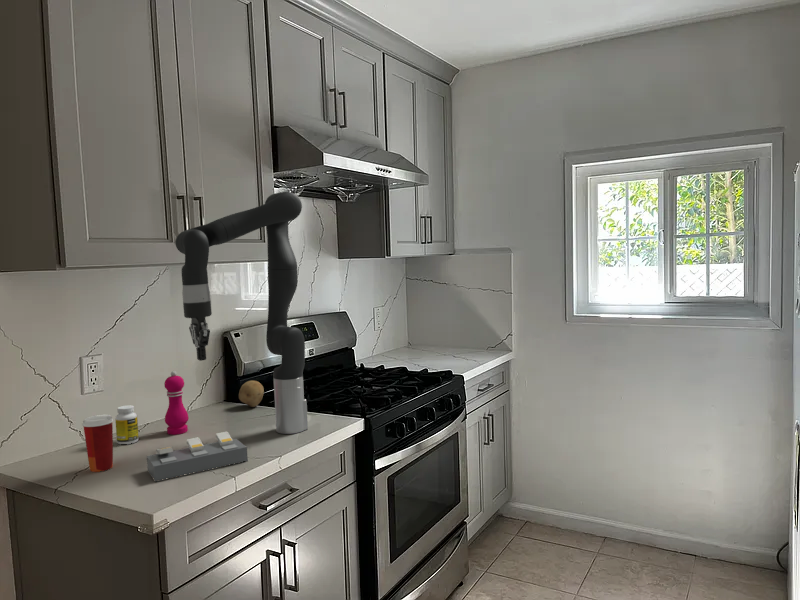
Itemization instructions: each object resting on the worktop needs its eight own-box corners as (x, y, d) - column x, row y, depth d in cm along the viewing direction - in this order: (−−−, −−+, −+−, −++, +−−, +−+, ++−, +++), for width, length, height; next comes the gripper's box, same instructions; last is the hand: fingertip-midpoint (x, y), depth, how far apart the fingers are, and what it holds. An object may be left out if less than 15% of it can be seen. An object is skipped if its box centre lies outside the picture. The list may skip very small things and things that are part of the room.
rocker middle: (198, 440, 169) (198, 436, 169) (203, 449, 165) (203, 445, 165) (186, 443, 167) (186, 439, 167) (191, 452, 163) (191, 447, 163)
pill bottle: (130, 445, 185) (128, 409, 184) (112, 444, 186) (109, 409, 185) (143, 439, 191) (140, 404, 190) (125, 438, 192) (123, 404, 191)
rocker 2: (227, 435, 173) (227, 431, 173) (232, 444, 169) (233, 440, 169) (215, 437, 172) (215, 433, 171) (221, 446, 168) (221, 442, 167)
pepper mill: (164, 436, 193) (160, 374, 191) (166, 430, 200) (162, 370, 198) (188, 433, 195) (184, 372, 193) (190, 427, 202) (186, 368, 200)
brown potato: (247, 411, 220) (246, 384, 219) (234, 407, 226) (233, 381, 225) (269, 406, 226) (267, 379, 226) (255, 402, 233) (254, 377, 232)
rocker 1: (168, 451, 165) (168, 446, 165) (172, 451, 160) (172, 446, 161) (156, 454, 163) (155, 449, 163) (160, 454, 159) (159, 449, 159)
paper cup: (121, 462, 170) (118, 413, 168) (109, 472, 162) (105, 421, 161) (93, 464, 169) (89, 414, 168) (79, 474, 162) (75, 422, 161)
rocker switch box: (236, 451, 175) (235, 437, 175) (247, 461, 167) (246, 445, 167) (147, 470, 163) (146, 454, 162) (155, 481, 154) (154, 465, 154)
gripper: (217, 300, 171) (221, 361, 172) (203, 297, 182) (208, 355, 183) (189, 303, 167) (194, 365, 168) (177, 300, 178) (182, 358, 179)
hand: (201, 359), depth 176 cm, fingers closed
